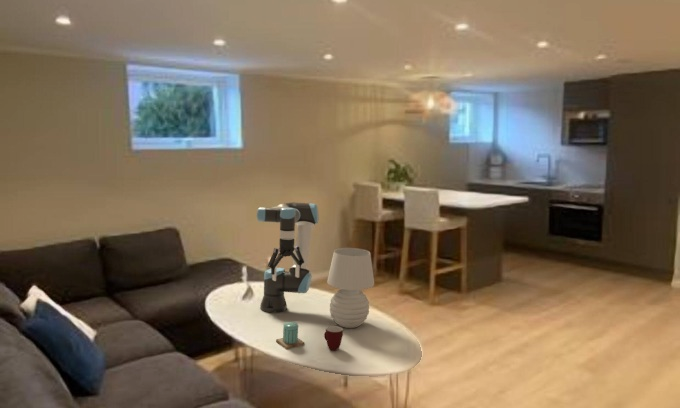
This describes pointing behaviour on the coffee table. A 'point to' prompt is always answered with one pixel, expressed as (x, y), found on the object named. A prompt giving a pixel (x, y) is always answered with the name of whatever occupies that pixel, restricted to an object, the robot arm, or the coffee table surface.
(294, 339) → the cap
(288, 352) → the coffee table surface
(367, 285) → the table lamp
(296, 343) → the post base
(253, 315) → the coffee table surface
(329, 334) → the mug
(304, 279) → the robot arm
